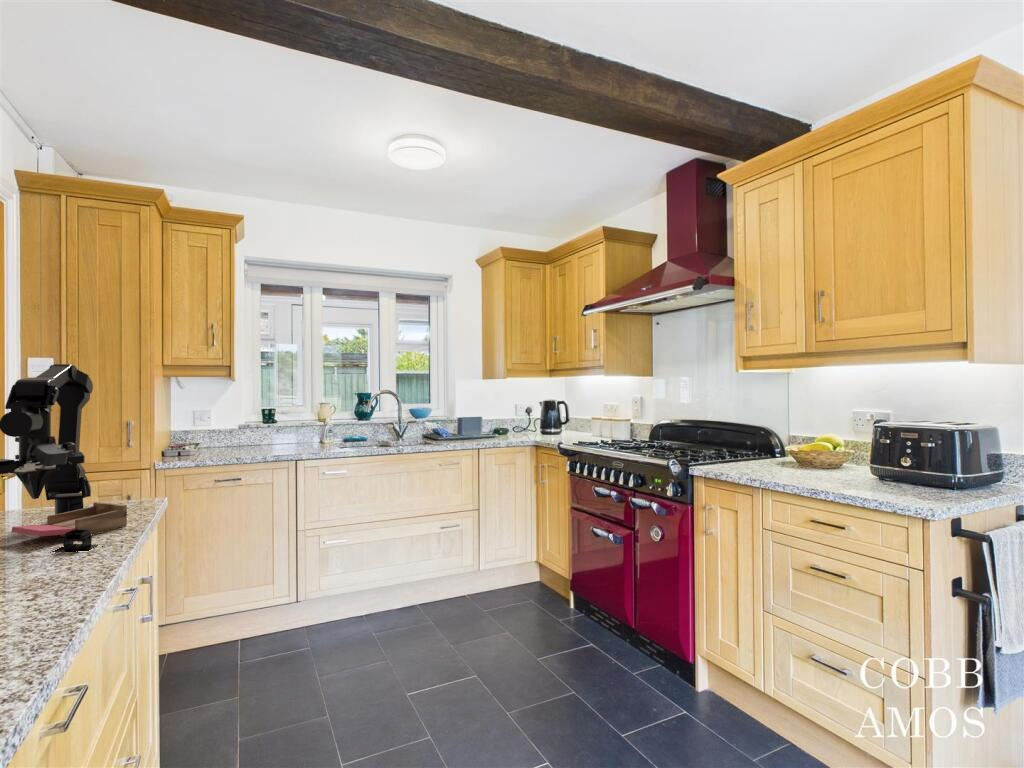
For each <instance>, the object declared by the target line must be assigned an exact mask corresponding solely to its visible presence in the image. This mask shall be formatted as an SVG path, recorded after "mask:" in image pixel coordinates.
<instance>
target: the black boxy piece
mask: <svg viewBox="0 0 1024 768" xmlns="http://www.w3.org/2000/svg"><path fill="white" fill-rule="evenodd" d="M92 537H93V535H91V533H90V529H89V530H72V531H70V532H67V533H65V537H64V536H63V538H62V540H63V545H62V546H64V547H62V546H60V547H61V548H60V547H58V548H59V549H58V548H56V549H57V550H55V549H54V550H55V551H53V550H51V551H52V552H55V553H54V554H56V553H57V554H60V553H59V552H73V553H79V552H78V551H89V550H91V549H92V548H94V547H97V546H98V545H99V544H93V543H92V539H93V538H92ZM74 542H77V543H74ZM78 542H79V543H78ZM80 542H81V543H80ZM51 551H49V552H50V553H49V554H52V553H51ZM76 551H77V552H76Z"/></svg>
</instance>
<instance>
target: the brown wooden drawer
mask: <svg viewBox="0 0 1024 768" xmlns="http://www.w3.org/2000/svg"><path fill="white" fill-rule="evenodd" d="M92 505H93V506H88V507H84V508H83V509H79V510H74V511H69V512H65V513H60V514H55V513H54V514H52V515H48V516H47V519H46V520H47V521H46V522H47V524H46V525H54V526H61V527H68V528H75V530H89V529H90V533H91V534H94V535H96V534H95V533H98V534H100V533H99V532H101V533H103V532H102V531H105V532H108V531H107V530H109V531H111V530H110V529H113V530H115V529H114V528H117V529H119V528H118V527H120V528H123V527H122V526H124V527H127V526H126V525H128V522H127V521H128V514H127V513H128V511H127V510H128V509H127V508H128V507H127V505H126V504H119V503H111V502H102V501H95V502H93V504H92ZM64 536H65V534H62V535H60V536H59V537H64Z"/></svg>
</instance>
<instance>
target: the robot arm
mask: <svg viewBox="0 0 1024 768" xmlns="http://www.w3.org/2000/svg"><path fill="white" fill-rule="evenodd" d="M93 389H94V384H93V381H92V379H91V377H90V375H89V374H88V373H85V372H84V371H81V370H79V369H78V368H77V366H76V365H73V364H71V363H69V364H68V363H64V364H63V363H54V364H50V366H49V368H47V369H46V370H45V371H43V372H42V373H40V374H38V375H37V376H35V377H27V378H26V377H25V378H20V379H17V380H16V381H15V382H14V384H13V385H12V386H11V389H10V392H9V394H8V397H7V401H6V404H5V407H4V408H5V410H10V411H8V412H6V413H5V414H4V415H2V416H1V418H0V431H1V433H3V434H4V435H6V436H8V437H12V438H15V439H14V442H16V443H18V454H15V455H14V456H15V457H14V458H15V459H10V458H9V459H7V458H6V459H5V458H0V475H5V474H14V475H15V476H16V477H17V478H18V479H19V481H20V482H21V483H22V485H23V487H24V488H25V489H26V491H27V493H28V494H29V496H30V497H31V499H32V500H37V499H39V498H40V497H41V493H42V492H43V489H44V491H45V498H46V501H54V515H55V514H60V513H65V512H69V511H74V510H79V509H83V508H85V507H84V499H85V498H88V497H91V496H92V486H91V485H90V482H89V479H88V478H87V475H86V469H85V468H84V466H83V464H84V463H85V461H86V460H85V457H86V456H85V455H84V453H83V452H82V451H80V443H81V442H80V441H81V440H80V439H81V426H82V412H83V411H82V410H83V409H84V407H85V406H86V405H87V403H89V401H90V399H91V394H92V393H93V391H94V390H93ZM55 403H57V404H58V406H59V407H60V410H59V411H60V412H59V425H58V438H56V437H55V436H54V435H53V436H52V418H51V417H52V406H55ZM56 439H58V440H57V441H56Z"/></svg>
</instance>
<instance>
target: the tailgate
mask: <svg viewBox="0 0 1024 768" xmlns="http://www.w3.org/2000/svg"><path fill="white" fill-rule="evenodd" d="M11 527H12V528H11V531H10V533H16V534H23V536H24V537H28V538H33V539H34V538H35V539H39V538H40V537H48V536H57V535H62V534H65V533H67V532H70V531H72V530H75V528H68V527H61V526H54V525H47V524H35V525H22V526H21V525H20V526H11Z"/></svg>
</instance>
